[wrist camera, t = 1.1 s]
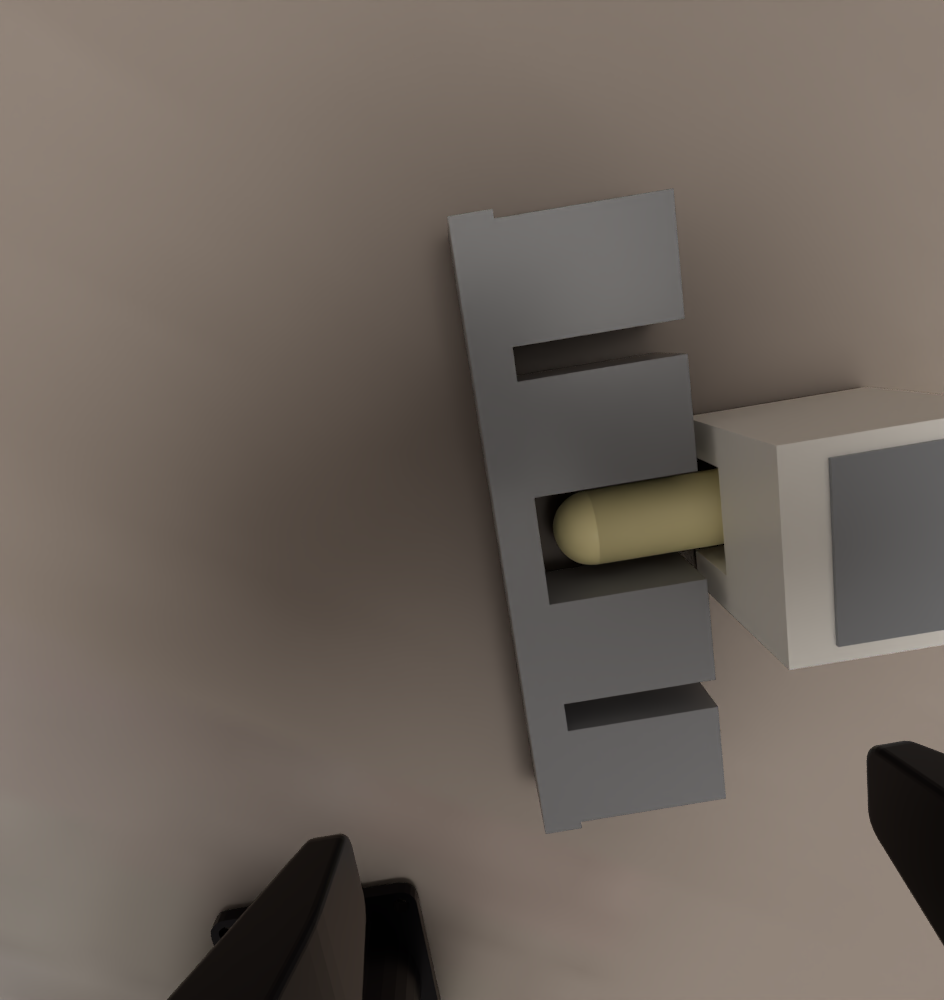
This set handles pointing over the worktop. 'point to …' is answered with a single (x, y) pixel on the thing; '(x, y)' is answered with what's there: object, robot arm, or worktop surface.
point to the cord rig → (596, 504)
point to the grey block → (830, 522)
